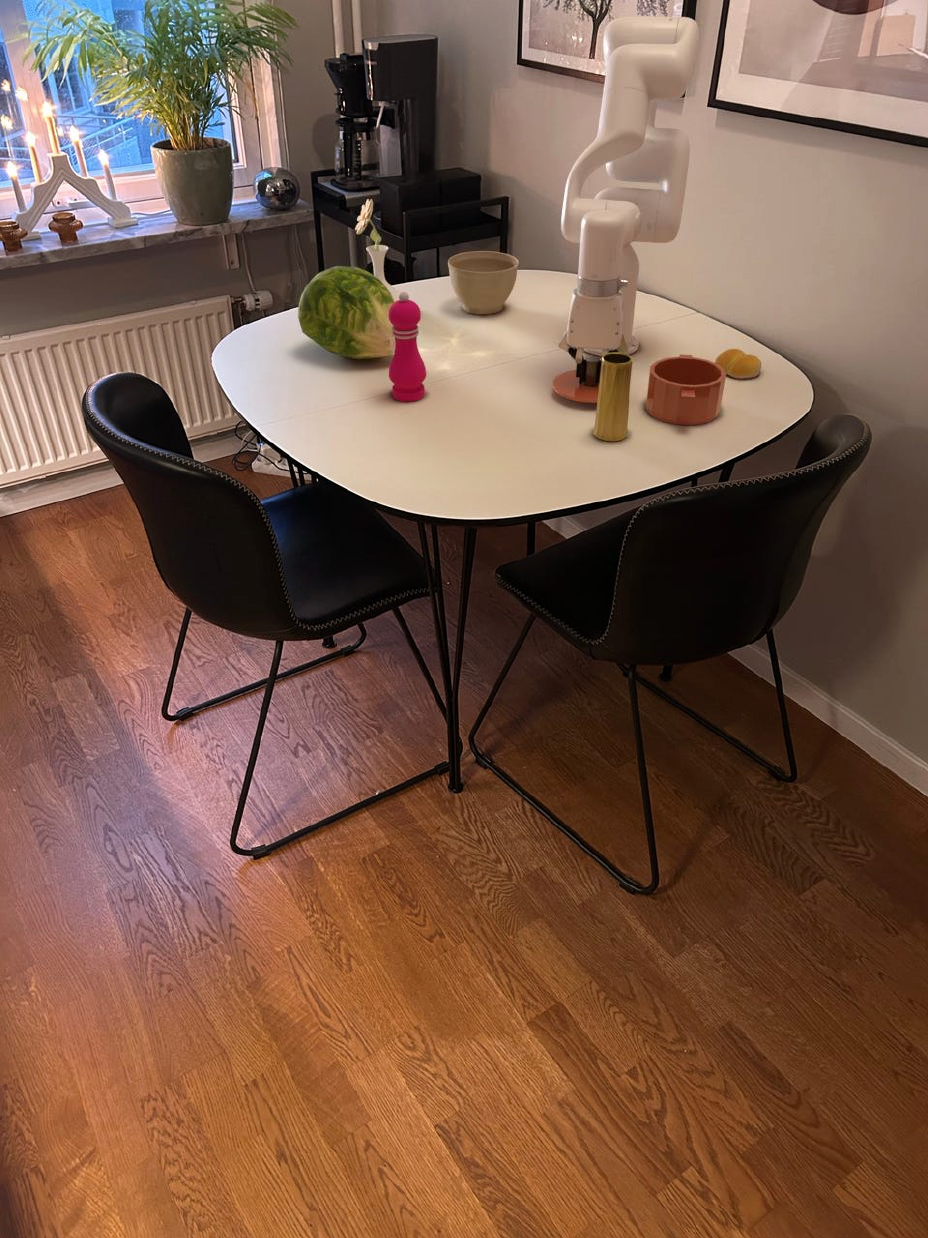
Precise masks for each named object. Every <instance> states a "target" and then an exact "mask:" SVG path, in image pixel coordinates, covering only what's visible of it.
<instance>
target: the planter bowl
mask: <svg viewBox="0 0 928 1238" xmlns="http://www.w3.org/2000/svg"><path fill="white" fill-rule="evenodd" d="M519 263H520V262H519V259H518V258H516V257H515V256H513V255H511V254H508V253H504V252H499V251H489V250H480V251H476V250H475V251H466V252H460V253H458V254H455V255H453V256H451V257H449V259H448V260H447V266H448V272H449V279H450V283H451V287H452V289H453V292H454V294H455V296H456V297H457V299H458V301H459V302H460V303H461V306H462V310H464V311H465V312H468V313H471V314H475V315H490V314H491V315H492V314H495V313H498V312H500V311H501V310H503V308H504V305H505V303H506V301H507V300H508V299H509V297H510V296H511V294H512V292H513V290H514V287H515V285H516V281H517V276H518V268H519Z"/></svg>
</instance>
